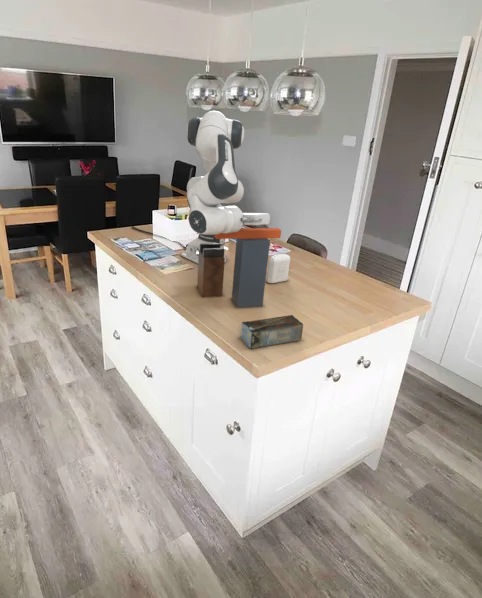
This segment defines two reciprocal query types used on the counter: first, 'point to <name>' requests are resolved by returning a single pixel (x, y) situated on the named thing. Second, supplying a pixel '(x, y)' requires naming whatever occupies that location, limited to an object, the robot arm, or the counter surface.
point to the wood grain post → (210, 269)
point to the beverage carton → (271, 331)
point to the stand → (250, 272)
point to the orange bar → (251, 233)
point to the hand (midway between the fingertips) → (255, 217)
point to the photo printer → (278, 268)
